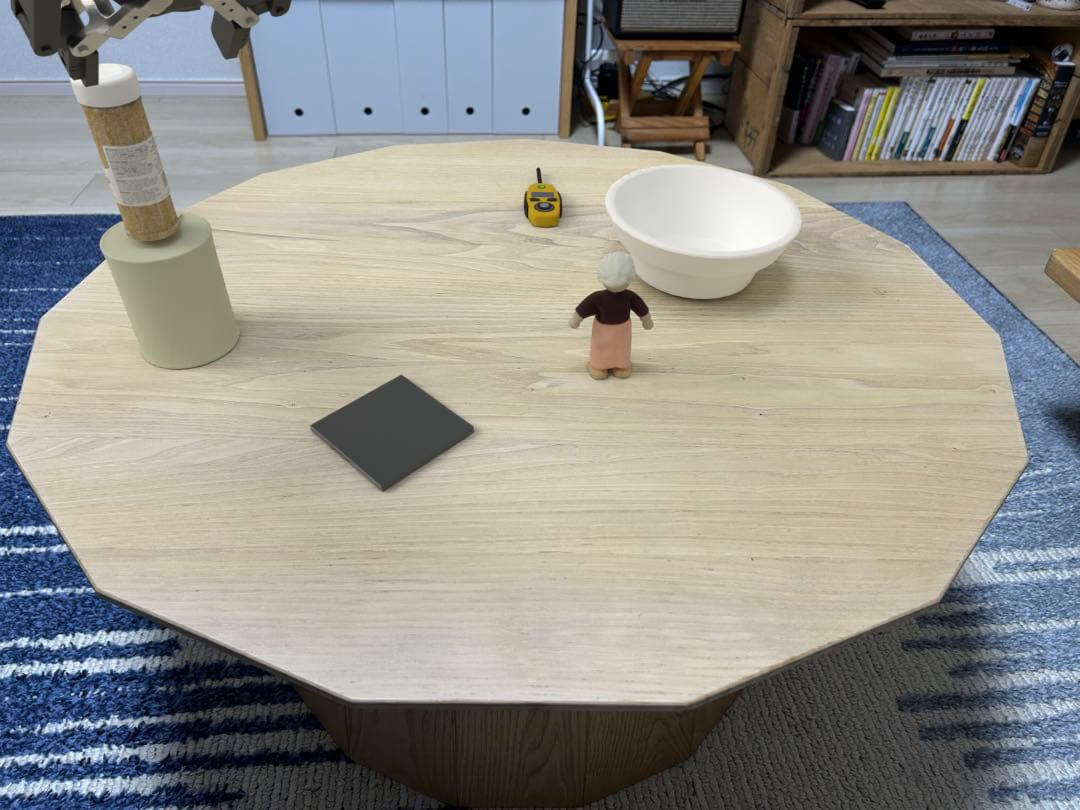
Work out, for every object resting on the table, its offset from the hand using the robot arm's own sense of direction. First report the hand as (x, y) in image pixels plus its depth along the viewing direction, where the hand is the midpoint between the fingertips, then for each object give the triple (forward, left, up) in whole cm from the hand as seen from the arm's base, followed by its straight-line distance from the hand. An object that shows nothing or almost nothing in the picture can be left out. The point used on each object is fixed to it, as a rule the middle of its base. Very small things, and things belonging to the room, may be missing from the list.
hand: (156, 58), depth 47 cm
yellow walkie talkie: (+44, +24, -30) cm, 58 cm away
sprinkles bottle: (-2, +14, -18) cm, 23 cm away
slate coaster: (+10, -7, -30) cm, 32 cm away
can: (-2, +14, -30) cm, 34 cm away
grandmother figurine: (+31, -9, -30) cm, 44 cm away
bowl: (+50, +1, -30) cm, 58 cm away
